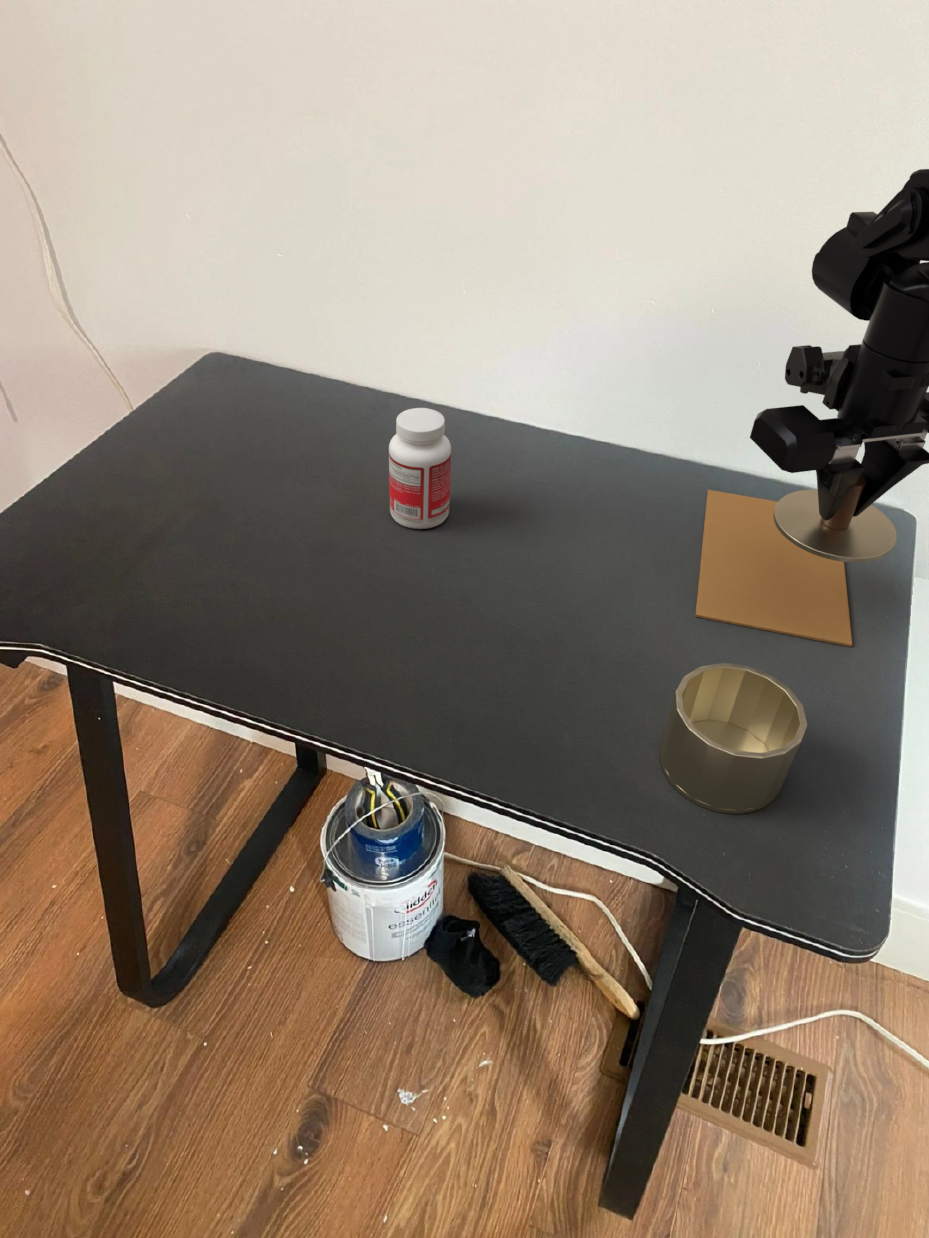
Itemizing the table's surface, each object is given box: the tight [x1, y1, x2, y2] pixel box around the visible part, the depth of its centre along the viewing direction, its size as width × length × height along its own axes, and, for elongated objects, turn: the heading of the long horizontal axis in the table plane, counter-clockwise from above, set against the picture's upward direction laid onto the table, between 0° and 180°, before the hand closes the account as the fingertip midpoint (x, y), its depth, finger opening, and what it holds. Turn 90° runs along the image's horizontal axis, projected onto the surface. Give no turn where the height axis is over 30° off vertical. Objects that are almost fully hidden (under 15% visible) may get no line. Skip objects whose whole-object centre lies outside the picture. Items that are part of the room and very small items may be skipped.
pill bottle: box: [388, 407, 452, 530], centre depth 92 cm, size 6×6×11 cm
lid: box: [773, 475, 898, 563], centre depth 80 cm, size 10×10×6 cm
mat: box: [694, 489, 853, 648], centre depth 92 cm, size 14×22×1 cm, turn 166°
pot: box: [659, 662, 808, 815], centre depth 70 cm, size 9×9×6 cm
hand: (837, 515), depth 80 cm, fingers closed on lid, 2 cm apart
